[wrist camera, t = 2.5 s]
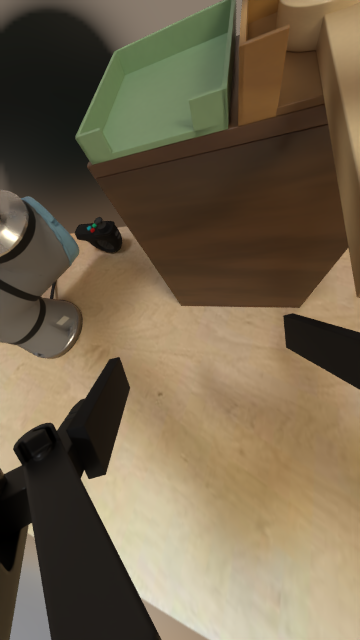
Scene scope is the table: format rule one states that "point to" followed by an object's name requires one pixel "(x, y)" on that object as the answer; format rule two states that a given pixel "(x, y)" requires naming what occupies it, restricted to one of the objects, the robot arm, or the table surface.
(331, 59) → the spoon
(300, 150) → the stand
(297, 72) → the brown wooden open box
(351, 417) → the table surface
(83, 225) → the controller
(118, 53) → the tray
